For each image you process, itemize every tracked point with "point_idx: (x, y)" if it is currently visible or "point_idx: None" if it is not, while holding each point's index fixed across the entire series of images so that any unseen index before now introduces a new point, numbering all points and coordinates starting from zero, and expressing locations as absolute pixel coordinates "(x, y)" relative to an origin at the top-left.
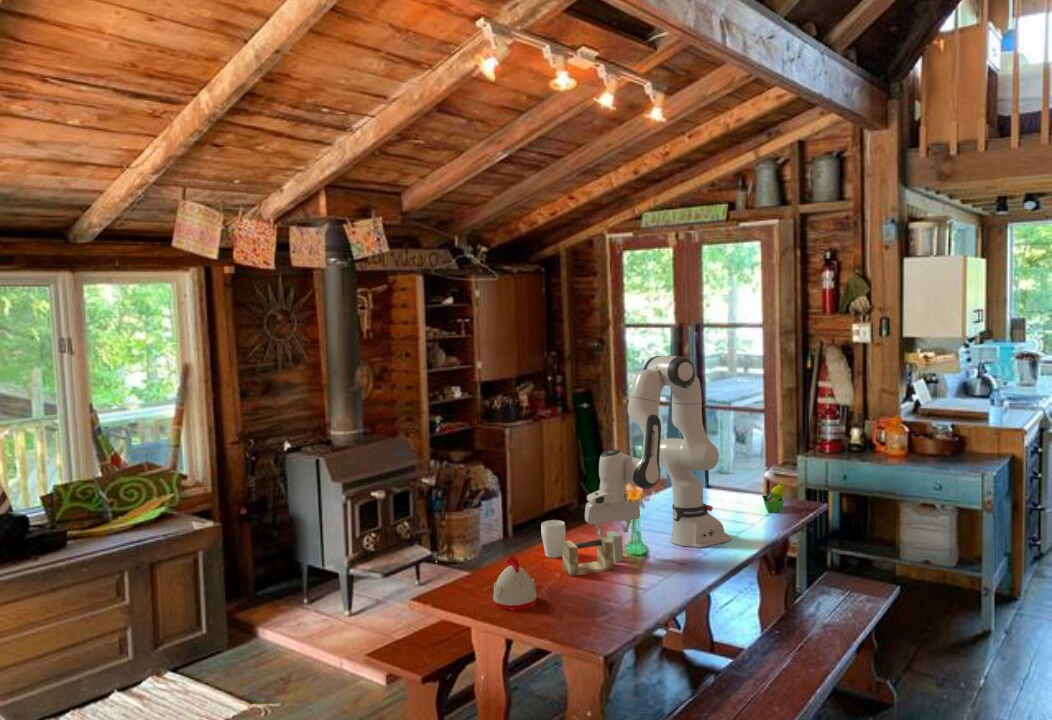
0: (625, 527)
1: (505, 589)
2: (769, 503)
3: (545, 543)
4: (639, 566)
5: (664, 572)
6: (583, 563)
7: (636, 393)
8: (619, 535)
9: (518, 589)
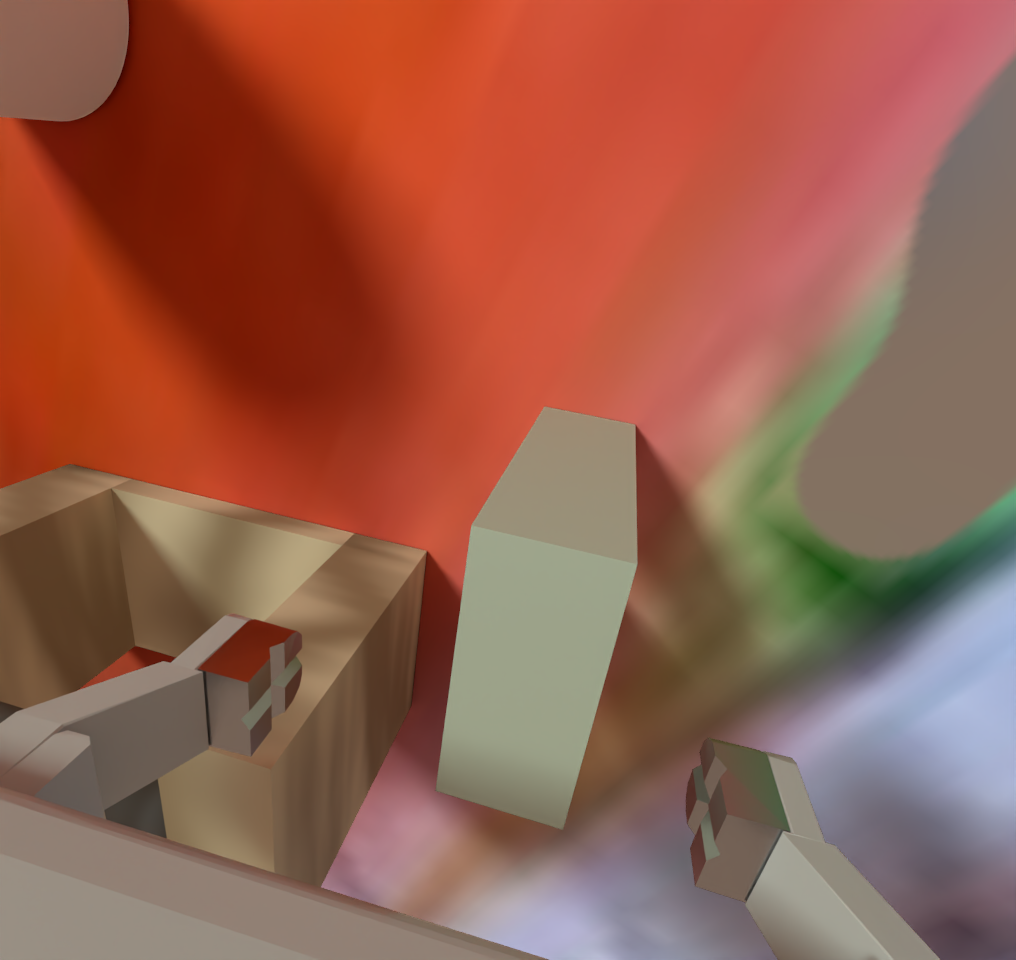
0: (735, 886)
1: None
2: None
3: None
4: (619, 772)
5: (686, 938)
6: (214, 516)
7: None
8: (549, 787)
9: None
